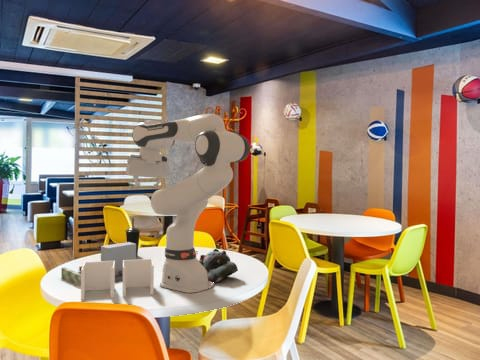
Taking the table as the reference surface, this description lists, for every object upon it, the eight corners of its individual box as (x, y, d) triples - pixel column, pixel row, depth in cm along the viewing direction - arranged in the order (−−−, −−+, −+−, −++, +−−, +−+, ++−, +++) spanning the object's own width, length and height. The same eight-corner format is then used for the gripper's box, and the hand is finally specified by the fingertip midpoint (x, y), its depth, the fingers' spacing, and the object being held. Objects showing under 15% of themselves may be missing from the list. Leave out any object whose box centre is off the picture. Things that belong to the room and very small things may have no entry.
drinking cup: (137, 257, 201) (138, 219, 201) (123, 257, 201) (123, 219, 201) (141, 254, 209) (142, 217, 208) (127, 254, 209) (128, 217, 208)
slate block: (135, 269, 178) (136, 243, 177) (107, 275, 168) (107, 248, 167) (128, 267, 182) (129, 242, 182) (100, 273, 172) (100, 246, 171)
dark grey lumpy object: (209, 285, 155) (196, 253, 159) (204, 288, 166) (192, 258, 170) (242, 271, 161) (229, 240, 164) (235, 275, 172) (223, 246, 175)
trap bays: (130, 278, 163) (130, 275, 163) (111, 283, 157) (111, 279, 157) (98, 266, 182) (98, 263, 182) (79, 270, 176) (79, 266, 176)
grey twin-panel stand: (151, 286, 154) (151, 258, 154) (153, 295, 144) (153, 265, 144) (84, 290, 147) (84, 262, 147) (81, 300, 137) (81, 269, 137)
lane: (138, 272, 173) (138, 263, 173) (78, 285, 153) (78, 275, 153) (119, 266, 184) (119, 257, 184) (61, 277, 164) (61, 267, 164)
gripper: (131, 153, 165) (128, 186, 164) (172, 159, 179) (169, 189, 179) (124, 154, 169) (121, 185, 169) (164, 159, 183) (162, 188, 183)
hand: (146, 187), depth 174 cm, fingers open, 8 cm apart
